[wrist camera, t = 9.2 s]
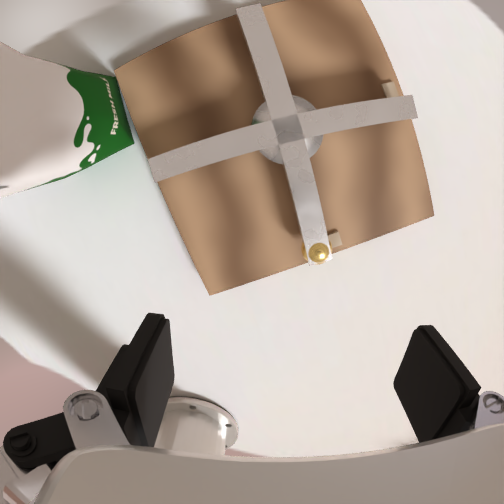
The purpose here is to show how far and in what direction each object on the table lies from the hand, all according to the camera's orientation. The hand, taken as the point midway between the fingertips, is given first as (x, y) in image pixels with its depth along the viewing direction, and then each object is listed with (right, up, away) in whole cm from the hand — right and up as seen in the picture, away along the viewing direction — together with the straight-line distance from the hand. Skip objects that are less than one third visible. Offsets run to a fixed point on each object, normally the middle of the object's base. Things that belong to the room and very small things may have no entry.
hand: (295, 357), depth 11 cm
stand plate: (+1, +14, +14) cm, 20 cm away
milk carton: (-16, +16, +14) cm, 26 cm away
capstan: (+1, +13, +12) cm, 18 cm away
